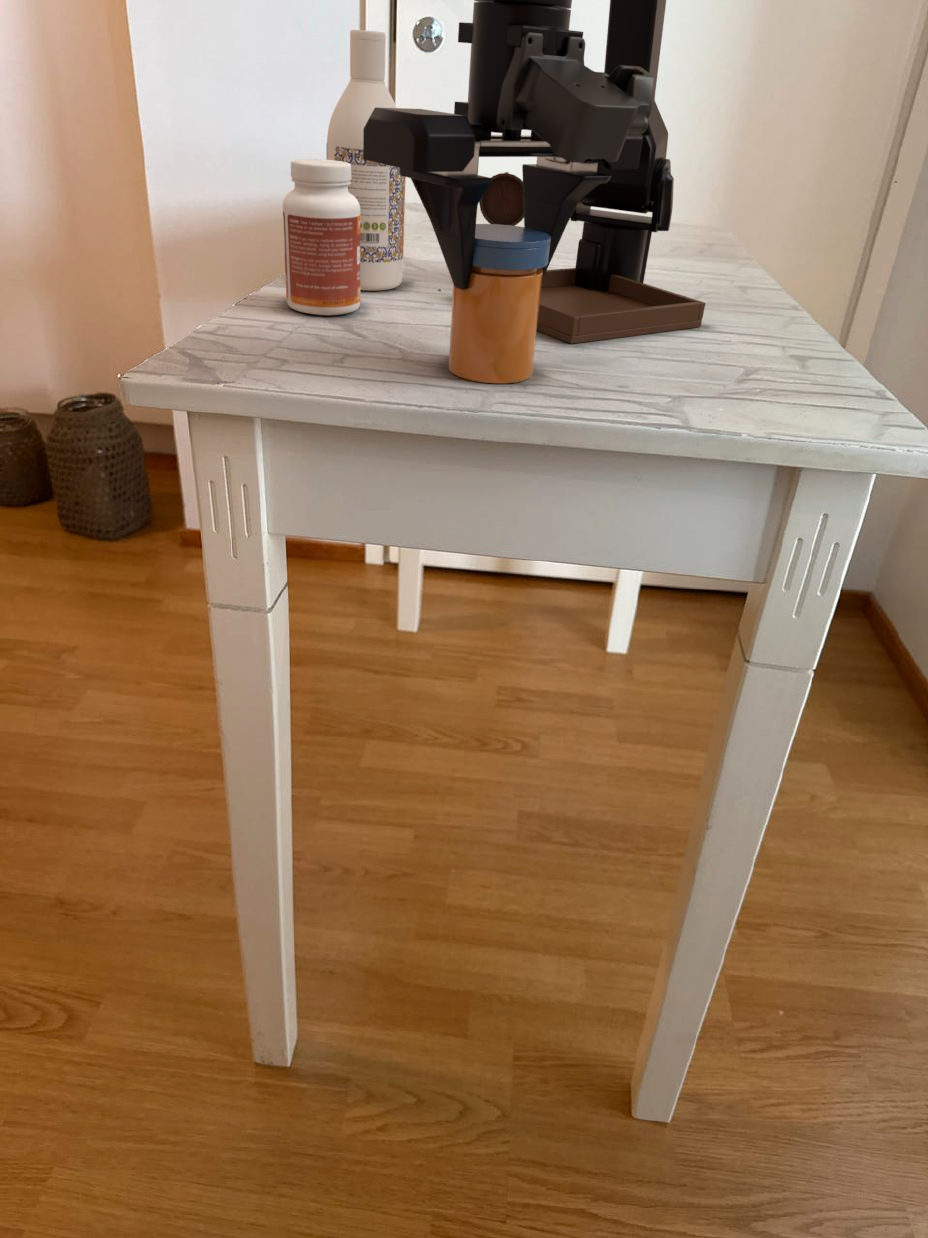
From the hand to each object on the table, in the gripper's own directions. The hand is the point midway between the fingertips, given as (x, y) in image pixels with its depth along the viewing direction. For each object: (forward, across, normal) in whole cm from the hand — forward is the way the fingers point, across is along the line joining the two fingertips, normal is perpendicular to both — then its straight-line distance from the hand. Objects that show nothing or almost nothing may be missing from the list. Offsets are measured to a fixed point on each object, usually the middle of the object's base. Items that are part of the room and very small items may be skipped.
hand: (498, 284), depth 61 cm
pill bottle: (+6, -2, +20) cm, 21 cm away
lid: (-3, 0, 0) cm, 3 cm away
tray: (+6, +19, +10) cm, 22 cm away
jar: (+6, 0, 0) cm, 6 cm away
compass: (+6, +36, +40) cm, 54 cm away
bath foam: (+6, +7, +27) cm, 28 cm away
